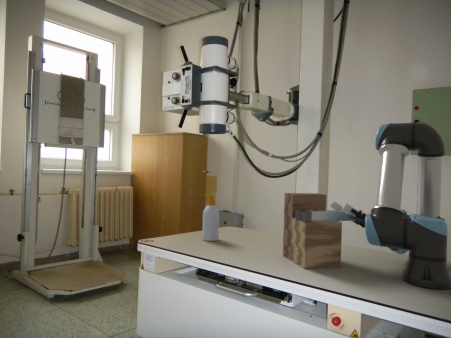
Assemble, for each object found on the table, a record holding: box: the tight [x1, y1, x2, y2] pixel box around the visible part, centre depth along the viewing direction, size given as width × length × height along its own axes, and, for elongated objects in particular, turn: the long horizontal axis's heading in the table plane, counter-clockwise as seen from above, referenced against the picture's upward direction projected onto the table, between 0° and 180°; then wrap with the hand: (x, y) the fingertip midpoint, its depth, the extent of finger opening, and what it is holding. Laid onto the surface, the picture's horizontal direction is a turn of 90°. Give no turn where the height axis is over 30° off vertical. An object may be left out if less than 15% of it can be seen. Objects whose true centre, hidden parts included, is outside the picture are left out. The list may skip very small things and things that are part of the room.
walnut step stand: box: [282, 192, 343, 270], centre depth 145 cm, size 20×16×28 cm
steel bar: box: [295, 209, 359, 222], centre depth 142 cm, size 8×26×4 cm, turn 105°
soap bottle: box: [201, 193, 220, 242], centre depth 183 cm, size 9×9×24 cm
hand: (338, 204), depth 144 cm, fingers open, 8 cm apart
